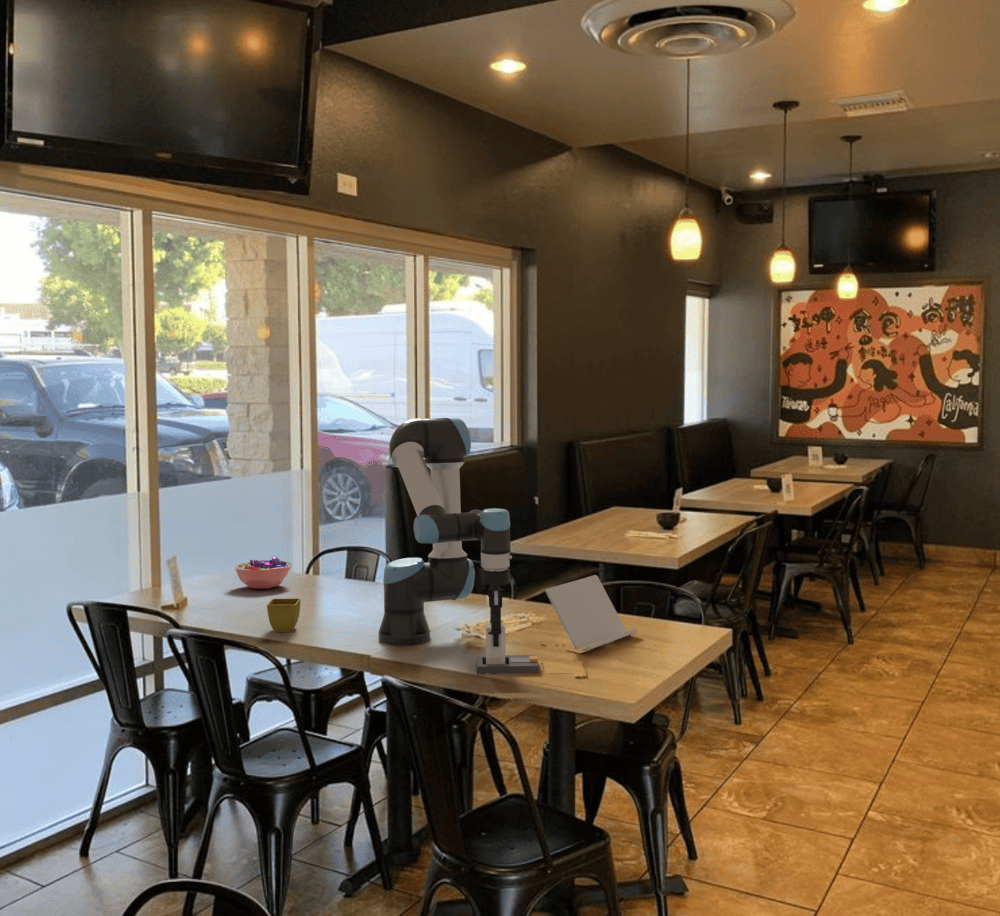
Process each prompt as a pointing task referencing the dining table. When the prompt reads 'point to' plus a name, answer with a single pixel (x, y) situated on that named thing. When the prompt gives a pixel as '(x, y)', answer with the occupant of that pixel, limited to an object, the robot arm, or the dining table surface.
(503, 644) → the block
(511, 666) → the grey slotted tray
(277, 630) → the flower pot
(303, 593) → the dining table surface
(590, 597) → the tablet stand
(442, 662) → the dining table surface
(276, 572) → the cell model
